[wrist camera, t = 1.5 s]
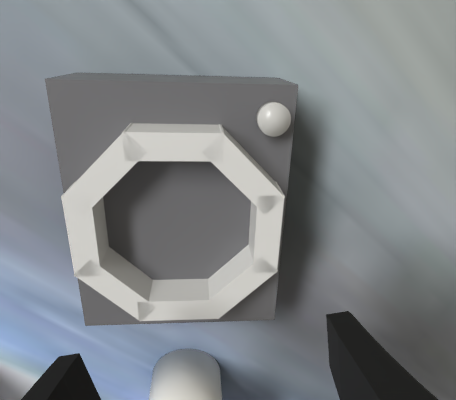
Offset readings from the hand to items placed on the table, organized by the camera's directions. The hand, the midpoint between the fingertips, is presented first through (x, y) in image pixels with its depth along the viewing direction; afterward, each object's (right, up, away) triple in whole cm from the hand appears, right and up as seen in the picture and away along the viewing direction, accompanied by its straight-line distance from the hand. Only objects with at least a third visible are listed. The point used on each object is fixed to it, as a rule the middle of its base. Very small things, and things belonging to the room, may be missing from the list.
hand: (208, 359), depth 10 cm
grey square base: (-2, +5, +8) cm, 10 cm away
